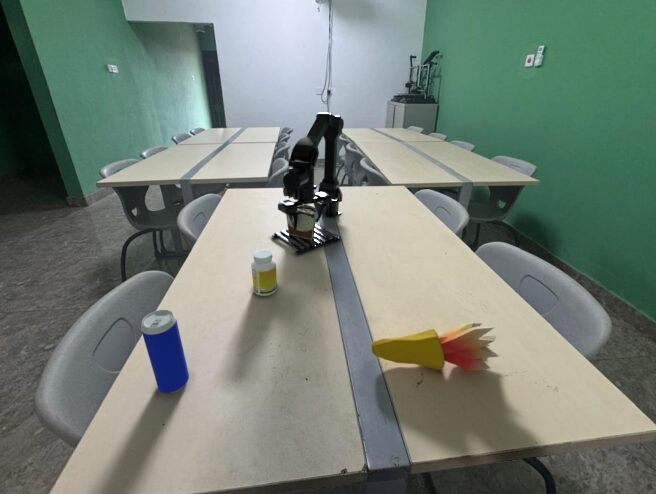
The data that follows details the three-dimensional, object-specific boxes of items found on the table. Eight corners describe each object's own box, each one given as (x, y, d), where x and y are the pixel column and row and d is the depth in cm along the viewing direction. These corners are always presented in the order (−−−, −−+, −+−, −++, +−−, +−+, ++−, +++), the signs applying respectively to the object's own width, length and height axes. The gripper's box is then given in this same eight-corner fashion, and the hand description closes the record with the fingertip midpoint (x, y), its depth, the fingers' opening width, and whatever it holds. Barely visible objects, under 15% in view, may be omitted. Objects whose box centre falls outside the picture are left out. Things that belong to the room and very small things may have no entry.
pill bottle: (281, 285, 86) (279, 250, 82) (269, 299, 81) (267, 262, 76) (261, 281, 88) (258, 246, 83) (249, 293, 83) (245, 257, 78)
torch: (372, 368, 67) (491, 357, 66) (376, 385, 59) (511, 373, 58) (368, 329, 67) (486, 317, 67) (371, 340, 59) (505, 327, 59)
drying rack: (312, 224, 123) (312, 221, 123) (339, 240, 112) (339, 236, 112) (272, 237, 112) (272, 233, 112) (297, 255, 101) (297, 251, 101)
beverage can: (165, 371, 60) (148, 308, 54) (193, 370, 61) (179, 307, 54) (153, 396, 55) (133, 330, 49) (183, 394, 56) (167, 329, 50)
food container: (323, 233, 113) (324, 207, 109) (315, 240, 108) (316, 213, 104) (294, 226, 117) (293, 201, 113) (285, 233, 112) (284, 207, 108)
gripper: (313, 172, 115) (313, 212, 121) (268, 181, 104) (270, 224, 110) (333, 180, 107) (332, 221, 114) (286, 189, 96) (287, 235, 103)
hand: (305, 225), depth 110 cm, fingers open, 9 cm apart
